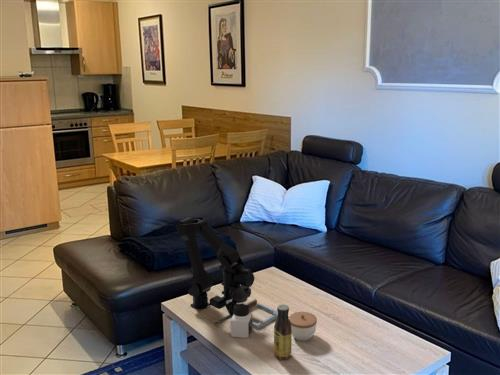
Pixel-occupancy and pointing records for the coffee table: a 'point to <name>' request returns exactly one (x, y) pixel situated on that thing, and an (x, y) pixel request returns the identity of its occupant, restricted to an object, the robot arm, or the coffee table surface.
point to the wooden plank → (251, 304)
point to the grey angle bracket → (269, 319)
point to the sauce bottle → (282, 334)
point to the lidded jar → (303, 325)
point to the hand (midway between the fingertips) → (231, 315)
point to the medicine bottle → (241, 321)
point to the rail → (222, 319)
